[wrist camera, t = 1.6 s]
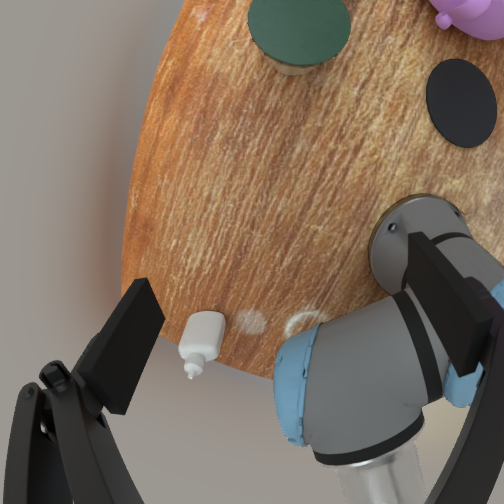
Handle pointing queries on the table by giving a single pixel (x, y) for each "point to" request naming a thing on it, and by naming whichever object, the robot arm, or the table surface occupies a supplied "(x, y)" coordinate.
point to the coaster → (461, 103)
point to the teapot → (472, 17)
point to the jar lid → (299, 30)
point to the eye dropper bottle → (201, 340)
